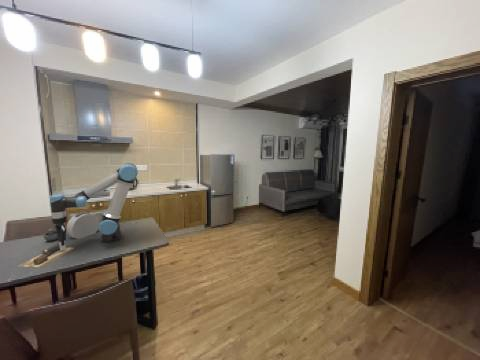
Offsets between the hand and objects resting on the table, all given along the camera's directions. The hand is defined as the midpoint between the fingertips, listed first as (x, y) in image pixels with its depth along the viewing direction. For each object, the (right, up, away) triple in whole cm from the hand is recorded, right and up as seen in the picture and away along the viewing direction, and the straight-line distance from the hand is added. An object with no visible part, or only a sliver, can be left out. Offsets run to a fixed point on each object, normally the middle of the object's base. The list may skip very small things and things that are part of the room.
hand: (62, 249), depth 145 cm
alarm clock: (-7, +2, +30) cm, 31 cm away
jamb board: (-4, -3, -6) cm, 8 cm away
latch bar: (-6, -1, -2) cm, 6 cm away
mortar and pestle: (-22, 0, +17) cm, 28 cm away
